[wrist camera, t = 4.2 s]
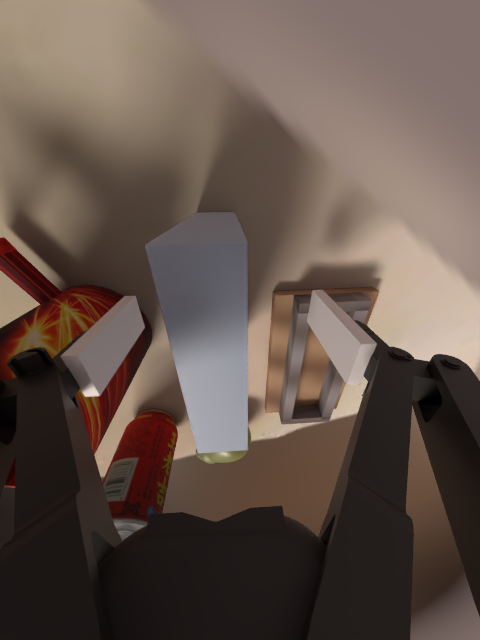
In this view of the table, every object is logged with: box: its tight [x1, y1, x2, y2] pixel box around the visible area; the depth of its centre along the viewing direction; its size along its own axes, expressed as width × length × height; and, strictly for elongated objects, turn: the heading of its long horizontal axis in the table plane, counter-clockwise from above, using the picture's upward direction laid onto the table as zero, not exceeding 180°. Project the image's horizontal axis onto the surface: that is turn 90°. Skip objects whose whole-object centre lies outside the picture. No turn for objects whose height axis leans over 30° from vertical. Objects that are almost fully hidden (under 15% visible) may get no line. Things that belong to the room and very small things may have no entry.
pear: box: [196, 427, 251, 463], centre depth 30 cm, size 6×5×10 cm
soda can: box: [102, 409, 178, 541], centre depth 25 cm, size 7×7×12 cm
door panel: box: [145, 211, 248, 453], centre depth 14 cm, size 12×3×12 cm, turn 1°
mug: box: [0, 237, 152, 488], centre depth 15 cm, size 10×14×12 cm
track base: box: [265, 287, 379, 424], centre depth 24 cm, size 18×10×3 cm, turn 1°
